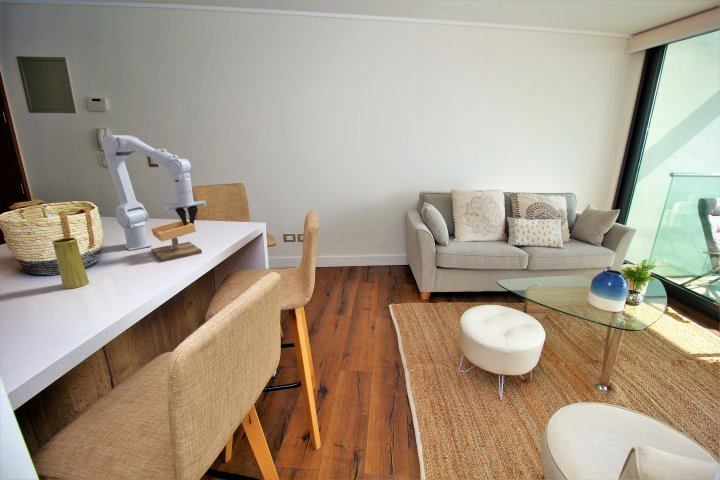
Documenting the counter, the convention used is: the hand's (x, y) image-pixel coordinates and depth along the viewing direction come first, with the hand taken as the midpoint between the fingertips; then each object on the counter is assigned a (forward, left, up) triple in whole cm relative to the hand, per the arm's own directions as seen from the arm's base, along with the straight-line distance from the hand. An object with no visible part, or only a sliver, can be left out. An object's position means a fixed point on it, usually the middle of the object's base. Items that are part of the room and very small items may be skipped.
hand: (188, 226), depth 124 cm
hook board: (-2, -5, -10) cm, 12 cm away
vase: (+9, -36, -11) cm, 39 cm away
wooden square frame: (-2, -5, -2) cm, 6 cm away
